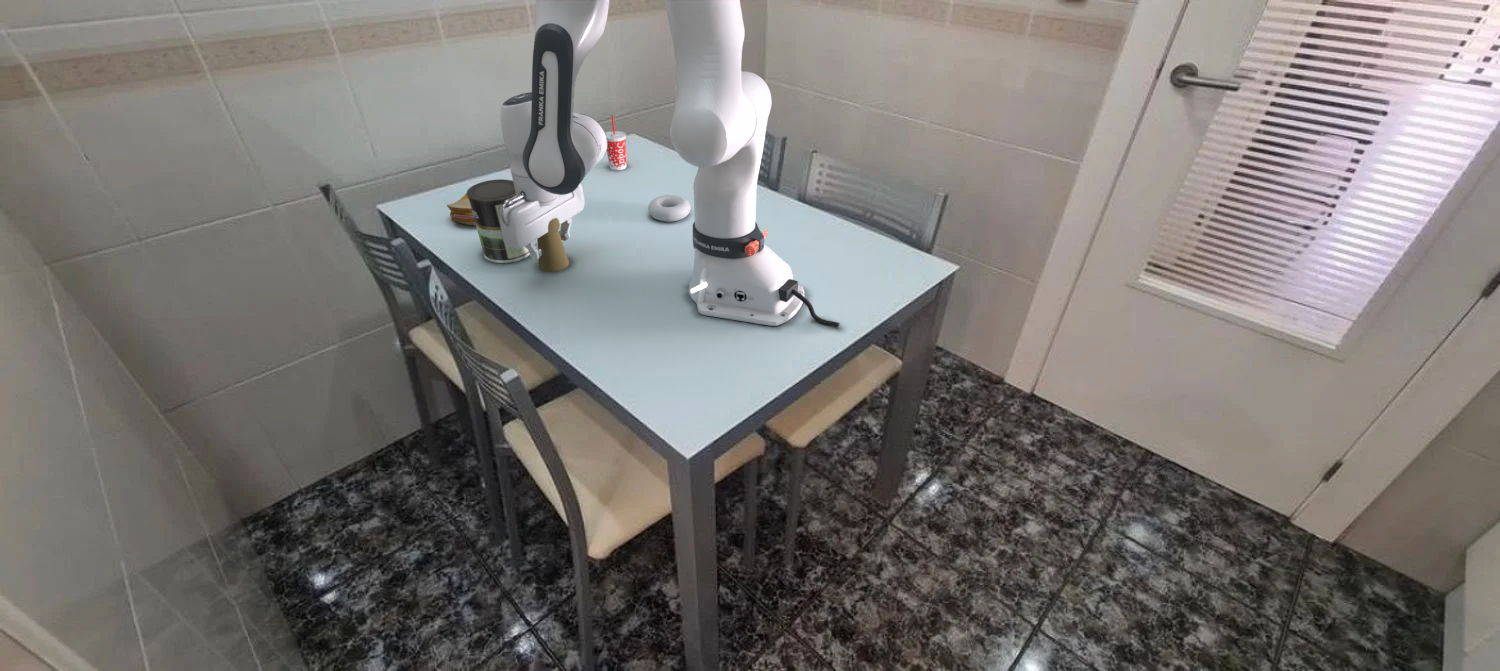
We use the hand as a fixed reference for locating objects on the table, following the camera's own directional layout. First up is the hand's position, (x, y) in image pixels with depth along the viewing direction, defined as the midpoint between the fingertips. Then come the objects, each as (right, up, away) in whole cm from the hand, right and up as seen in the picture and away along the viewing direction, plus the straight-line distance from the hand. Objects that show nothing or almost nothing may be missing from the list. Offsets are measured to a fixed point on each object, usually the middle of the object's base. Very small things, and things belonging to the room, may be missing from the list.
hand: (551, 248), depth 124 cm
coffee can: (-11, 0, +6) cm, 13 cm away
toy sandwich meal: (-23, +10, +20) cm, 32 cm away
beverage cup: (+4, +29, +45) cm, 54 cm away
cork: (0, -3, +2) cm, 4 cm away
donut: (+21, +11, +22) cm, 33 cm away
